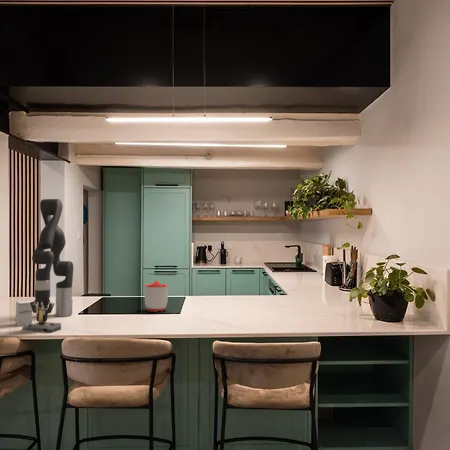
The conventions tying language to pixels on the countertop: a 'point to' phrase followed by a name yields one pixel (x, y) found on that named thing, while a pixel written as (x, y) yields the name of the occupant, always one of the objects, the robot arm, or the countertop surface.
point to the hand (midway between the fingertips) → (41, 321)
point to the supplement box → (23, 313)
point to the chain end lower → (32, 328)
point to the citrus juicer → (156, 296)
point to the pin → (41, 316)
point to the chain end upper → (48, 326)
